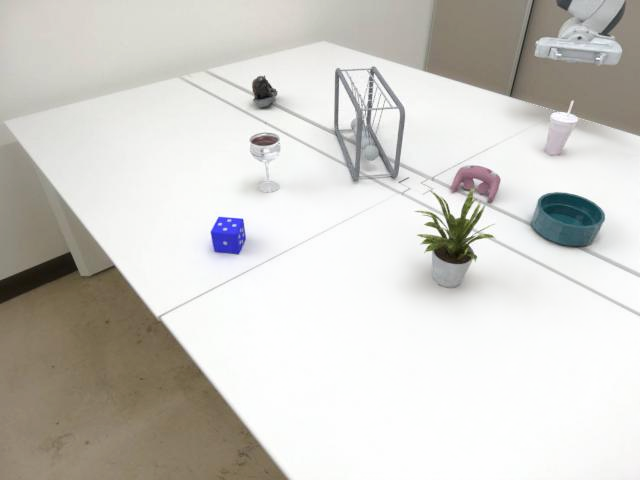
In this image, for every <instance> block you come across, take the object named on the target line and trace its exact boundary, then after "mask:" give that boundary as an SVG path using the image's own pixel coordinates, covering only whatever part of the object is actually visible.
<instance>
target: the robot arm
mask: <svg viewBox="0 0 640 480" xmlns="http://www.w3.org/2000/svg"><path fill="white" fill-rule="evenodd" d="M555 2H556V6H557V7H559V8H561V9H563V10H564V11H565V12H568V13H570V15H572V16H573V17H570V18H569V19H567V20H566V21H565V22H564V23H563V24H562V26H561V27H560V29H559V31H558V33H557V37H547V36H546V37H541V38H539V40H536V41H535V42H534V46H535V50H534V57H536V58H542V59H551V60H553V61H554V62H560V61H561V60H562V61H564V62H565V63H569V64H576V63H577V64H578V63H589V64H593V66H598V67H599V66H601V65H607V66H616V65H618V63H619V62H620V59H621V56H622V54H623V48H622V47H621V44H620V43H619V42H618V41H616V36H614V35H612V34H609V33H611V31H613V30H614V29H615V28H616V26H617V25H618V24H619V23H620V21H622V19H623V17H624V15H625V12H626V6H627V0H555Z"/></svg>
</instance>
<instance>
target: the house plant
mask: <svg viewBox="0 0 640 480" xmlns="http://www.w3.org/2000/svg"><path fill="white" fill-rule="evenodd" d="M427 190H429V192H430V193H432V195H433V196H434V197H435V198H436V200H437V201H438V203H439V206H440V208H441V211H442V214H443V217H444V219H445V222H446V224H447V226H446V224H445V223H444V221H443V220H442V219H441V218H440V217H439V216H437V215H436V214H435V213H433V212H431V211H426V210H425V211H424V210H415V211H414V212H415V213H420V214H423V216H426V217H429V218H432V221H428V222H426V223H424V224H423V226H426V227H431V228H433V229H436V230H437V232H438V233H439V235H434V234H427V233H425V234H420V233H419V234H417V237H420V238H424V239H423V240H422V241H421V243H420V244H419V245H427V247H426V249H425V250H424V252H423V254H425V253H427V252H431V270H432V271H431V274H432V275H431V276H432V280H433V281H434V282H435V283H436V284H437V285H439V286H440V287H443V288H448V289H449V288H457V287H458V286H459V285H461V283H462V282H463V280H464V278H465V276H466V273H467V271H468V270H469V268H470V266H471V265H472V262H473V260H474V263H476V262H477V259H478V256H477V255H476V254H475V251H474V249H473V248H472V247H471V246H470V244H472V243H473V242H475V241H477V240H483V239H489V238H492V239H495V240H497V239H496V237H495V236H494V235H492V234H489V233H484V234H479V233H481V232H483V231H485V230H486V229H488V228H489V227H492V226H494V225H495V223H493V224H490V225H488V226H486V227H484V228H482V229H480V230H478V231H476V232H475V233H474V234H472V235H470V234H471V233H472V231H473V229H474V228H475V226H476V224H478V222H479V221H480V219H481V217H482V215H483V213H484V211H485V208H486V204H484V205H483V206H482V208H481V203H482V200H479V202H478V204H477V206H476V207H475V209H474V210H473V213H472V214H471V216H470V218H469V219H468V218H467V216H468V213H469V211H470V210H471V208H472V206H473V204H474V203H475V202H477V200H478V199H479V198H474V192H475V186H474V187H473V188H472V189H470V190H469V192H468V194H467V196H466V198H465V201H464V203H463V205H462V207H461V211H460V217H457V218H456V217H455V216H454V215H453V214H452V213H451V211H450V207H449V203H448V202H447V201H446V200H445V199H444V197H442V196H440V195H438V194H437V193H436V192H434V191H432V190H430V189H429V188H428V189H427ZM480 208H481V209H480ZM440 223H441V224H442V225H443V226H444V227H445V228H444V227H441V225H440ZM447 235H448V237H447ZM469 235H470V236H469ZM468 236H469V237H468Z"/></svg>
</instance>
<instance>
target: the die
mask: <svg viewBox="0 0 640 480" xmlns="http://www.w3.org/2000/svg"><path fill="white" fill-rule="evenodd" d="M244 221H245V220H244V218H239V217H229V216H218V217H217V219H216V221H215V223H214V224H213V226H212V228H211V230H210V237H211V241H212V247H213V251H214V253H224V254H234V255H240V254H241V251H242V249H243V246H244V244H245V242H246V239H247V235H246V228H245V222H244Z"/></svg>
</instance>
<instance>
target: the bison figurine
mask: <svg viewBox="0 0 640 480" xmlns="http://www.w3.org/2000/svg"><path fill="white" fill-rule="evenodd" d="M251 89H252V93H253V97H254V98H253V100H252V101H253V103H254V104H255V105H256V106H257V107H259V108H265V107H268V106H270V105H271V104H272V103H273V102H274V101H275V100H274V99H275V98H276V97H277V96H278V90H277V89H276V88H273V86H272V85H271V83H270V82H269V80H268V79H267V78H266V75H259V76H257V77H256V78H253V80H252V82H251Z"/></svg>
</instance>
